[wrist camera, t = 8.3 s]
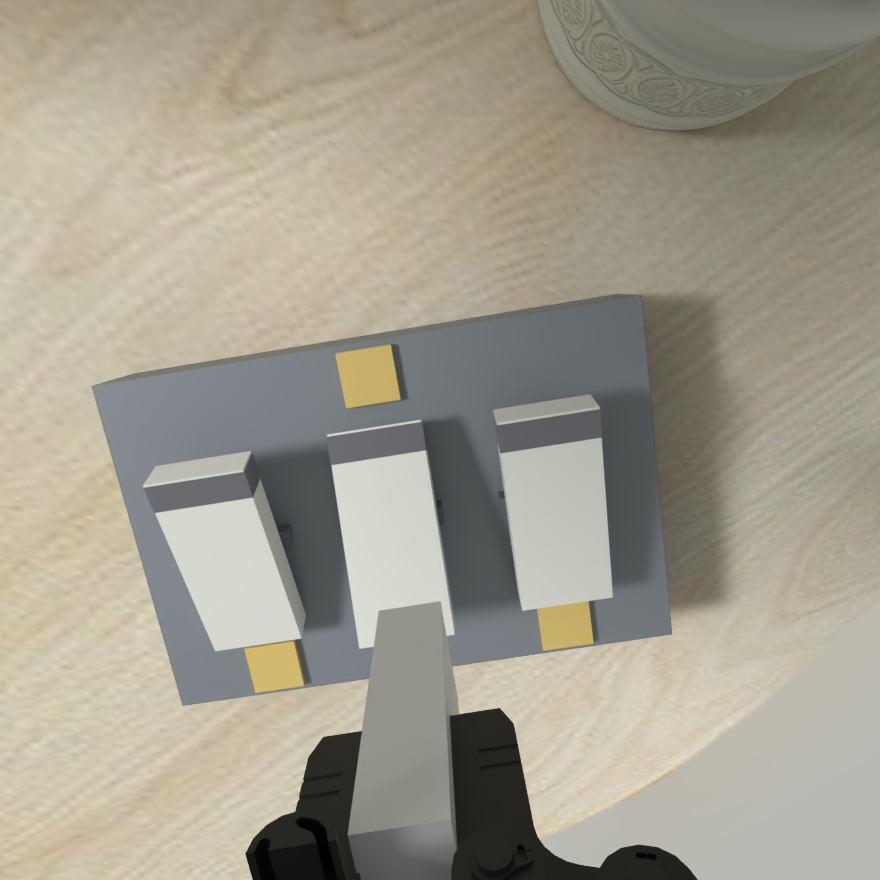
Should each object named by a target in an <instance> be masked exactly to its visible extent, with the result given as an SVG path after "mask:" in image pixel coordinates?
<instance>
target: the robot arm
mask: <svg viewBox="0 0 880 880" xmlns="http://www.w3.org/2000/svg"><path fill="white" fill-rule="evenodd" d="M303 779H304V783H302V787H301V791H300V795H299V801H298V803H297V807H296V811H295V812H293V813H290V814H287V815H283V816H281V817H279V818H278V819H276V820H275V821H273V822H271V823H270V824H268V825H266V826H265V827H264V828H263V829H262V830H261V831H260V832H259V833H258V834H257V835H256V836H255V837H254V838H253V840H252V842H251V844H250V846H249V848H248V850H247V852H246V857H247V861H248V864H249V868H250V872H251V875H252V879H253V880H697V879H696V877H695V876H694V875H693V873H692V872H691V870H690V869H689V868H688V867H687V866H686V865H685V864H684V863H682V862H681V861H680V860H679V859H678V858H677V857H676V856H675V855H673V854H671V853H668V852H666V851H664V850H662V849H660V848H658V847H651V846H644V845H634V846H630V847H624V848H620V849H619V850H617V851H616V852H614V853H612V854H611V855H609V856H608V857H607V858H606V859H605V861H604V863H603V864H602V865H601V867H600V868H597V867H590V866H584V865H578V864H575V863H570V862H567V861H565V860H563V859H561V858H559V857H557V856H555V855H554V854H552V853H551V852H550V851H549V850H548V849H546V848H545V847H544V845H543V844H542V843H541V841H540V840H539V838H538V837H537V834H536V831H535V828H534V825H533V820H532V815H531V810H530V805H529V799H528V794H527V789H526V784H525V779H524V774H523V769H522V764H521V759H520V754H519V749H518V744H517V738H516V733H515V728H514V724H513V723H512V721H511V720H510V719H509V718H508V717H507V716H506V715H505V714H504V712H503V711H502V710H501V709H500V708H497V709H491V710H484V711H478V712H471V713H465V714H459V707H458V697H457V692H456V686H455V680H454V675H453V669H452V663H451V658H450V652H449V646H448V641H447V635H446V629H445V624H444V618H443V612H442V607H441V601H438V602H432V603H425V604H419V605H412V606H406V607H400V608H393V609H387V610H381V611H379V612H378V619H377V627H376V634H375V641H374V648H373V656H372V663H371V670H370V677H369V684H368V692H367V699H366V706H365V713H364V721H363V728H362V731H360V732H353V733H347V734H340V735H334V736H327V737H323V738H322V740H321V741H320V742H319V744H318V745H317V746H316V748H315V749H314V751H313V752H312V753H311V755H310V756H309V758H308V762H307V766H306V770H305V774H304V778H303Z"/></svg>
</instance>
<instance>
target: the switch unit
mask: <svg viewBox="0 0 880 880" xmlns="http://www.w3.org/2000/svg"><path fill="white" fill-rule="evenodd" d="M92 390H93V393H94V397H95V400H96V404H97V407H98V411H99V414H100V418H101V421H102V425H103V428H104V432H105V435H106V439H107V442H108V446H109V449H110V453H111V456H112V460H113V463H114V467H115V470H116V474H117V477H118V481H119V484H120V488H121V491H122V495H123V498H124V502H125V505H126V509H127V512H128V516H129V519H130V523H131V526H132V530H133V533H134V537H135V540H136V544H137V547H138V551H139V554H140V558H141V561H142V565H143V568H144V572H145V575H146V579H147V582H148V586H149V589H150V593H151V596H152V600H153V604H154V607H155V611H156V614H157V618H158V621H159V625H160V628H161V632H162V635H163V639H164V642H165V646H166V649H167V653H168V656H169V660H170V663H171V667H172V670H173V674H174V677H175V681H176V684H177V688H178V691H179V695H180V698H181V702H182V705H183V706H185V705H192V704H199V703H205V702H212V701H219V700H226V699H233V698H240V697H247V696H253V695H260V694H267V693H274V692H281V691H288V690H294V689H301V688H308V687H315V686H322V685H329V684H335V683H342V682H349V681H356V680H363V679H369V677H370V670H371V663H372V656H373V648H374V647H368V648H361V649H359V644H358V637H357V631H356V624H355V617H354V611H353V604H352V598H351V591H350V584H349V578H348V571H347V565H346V558H345V551H344V545H343V538H342V532H341V525H340V518H339V512H338V505H337V499H336V492H335V486H334V479H333V472H332V466H331V463H330V456H329V450H328V443H327V435H328V434H334V433H340V432H346V431H353V430H359V429H365V428H371V427H378V426H384V425H390V424H396V423H403V422H409V421H415V420H422V421H423V423H424V427H425V433H426V439H427V446H428V455H429V462H430V468H431V474H432V481H433V487H434V494H435V500H436V506H437V513H438V519H439V526H440V532H441V538H442V545H443V551H444V557H445V564H446V570H447V577H448V583H449V589H450V596H451V602H452V609H453V615H454V621H455V635H449V636H447V641H448V646H449V652H450V658H451V663H452V666H459V665H465V664H472V663H479V662H486V661H493V660H500V659H507V658H513V657H520V656H527V655H534V654H541V653H548V652H554V651H561V650H568V649H575V648H582V647H589V646H595V645H602V644H609V643H616V642H623V641H630V640H637V639H643V638H650V637H657V636H664V635H671V634H672V627H671V616H670V605H669V594H668V583H667V572H666V561H665V550H664V539H663V528H662V517H661V506H660V495H659V484H658V473H657V462H656V451H655V440H654V429H653V418H652V406H651V395H650V384H649V373H648V362H647V351H646V340H645V329H644V318H643V307H642V296H637V295H621V294H615V295H609V296H603V297H597V298H591V299H585V300H579V301H573V302H567V303H561V304H555V305H548V306H542V307H536V308H530V309H524V310H518V311H512V312H506V313H500V314H494V315H488V316H482V317H476V318H469V319H463V320H457V321H451V322H445V323H439V324H433V325H427V326H421V327H415V328H409V329H403V330H397V331H390V332H384V333H378V334H372V335H366V336H360V337H354V338H348V339H342V340H336V341H330V342H324V343H318V344H312V345H305V346H299V347H293V348H287V349H281V350H275V351H269V352H263V353H257V354H251V355H245V356H239V357H233V358H226V359H220V360H214V361H208V362H202V363H196V364H190V365H184V366H178V367H172V368H166V369H160V370H154V371H148V372H141V373H135V374H131V375H127V376H124V377H121V378H117V379H114V380H111V381H107V382H104V383H101V384H97V385H94V386H92ZM588 394H590V395H591V396H592V397H593V399H594V400H595V401H596V403H597V404H598V405H599V408H600V413H601V427H602V450H603V465H604V479H605V493H606V507H607V521H608V536H609V550H610V564H611V578H612V592H613V598H606V599H599V600H593V601H586V602H579V603H572V604H566V605H559V606H552V607H545V608H539V609H532V610H525V611H522V607H521V603H520V599H519V594H518V589H517V582H516V575H515V567H514V560H513V553H512V545H511V538H510V531H509V524H508V516H507V509H506V502H505V494H504V487H503V480H502V473H501V465H500V458H499V451H498V443H497V439H496V433H495V425H494V418H493V410H494V409H501V408H507V407H513V406H519V405H526V404H532V403H538V402H544V401H551V400H557V399H563V398H569V397H576V396H582V395H588ZM247 451H251V452H252V453H253V456H254V459H255V462H256V465H257V468H258V471H259V474H260V477H261V478H260V479H261V482H262V485H263V488H264V491H265V494H266V497H267V500H268V503H269V506H270V509H271V512H272V515H273V518H274V521H275V524H276V527H277V530H278V533H279V536H280V539H281V542H282V545H283V548H284V551H285V554H286V557H287V560H288V563H289V566H290V569H291V572H292V575H293V578H294V581H295V584H296V587H297V590H298V593H299V596H300V599H301V602H302V605H303V608H304V611H305V614H306V618H305V623H304V629H303V634H302V639H295V640H288V641H282V642H275V643H268V644H261V645H255V646H248V647H241V648H235V649H228V650H221V651H215V650H214V647H213V645H212V643H211V640H210V638H209V636H208V634H207V631H206V629H205V627H204V624H203V622H202V620H201V618H200V615H199V613H198V611H197V608H196V606H195V604H194V602H193V599H192V597H191V595H190V592H189V590H188V588H187V585H186V583H185V581H184V579H183V576H182V574H181V572H180V569H179V567H178V565H177V563H176V560H175V558H174V556H173V553H172V551H171V549H170V546H169V544H168V542H167V540H166V537H165V535H164V533H163V530H162V528H161V526H160V524H159V521H158V519H157V517H156V514H155V513H154V512H153V509H152V507H151V505H150V503H149V500H148V498H147V496H146V493H145V491H144V489H143V488H144V487H143V485H144V483H145V482H146V480H147V479H148V477H149V476H150V474H151V473H152V471H153V470H154V468H155V466H160V465H166V464H172V463H178V462H185V461H191V460H197V459H204V458H210V457H216V456H222V455H229V454H235V453H241V452H247Z"/></svg>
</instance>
